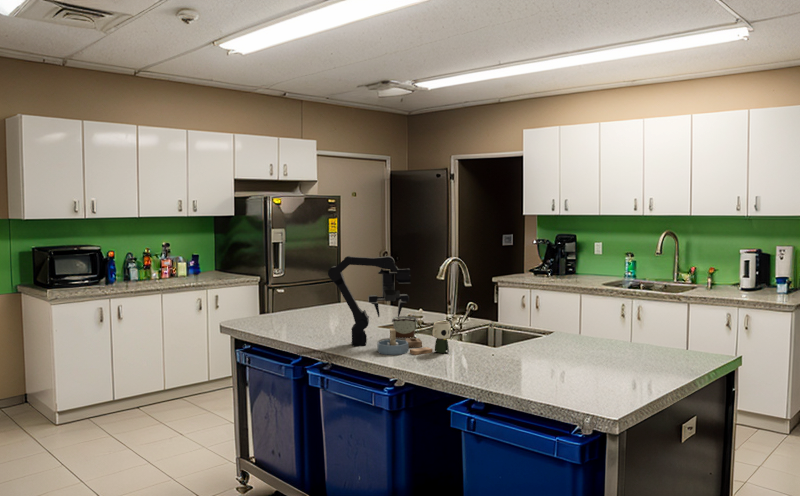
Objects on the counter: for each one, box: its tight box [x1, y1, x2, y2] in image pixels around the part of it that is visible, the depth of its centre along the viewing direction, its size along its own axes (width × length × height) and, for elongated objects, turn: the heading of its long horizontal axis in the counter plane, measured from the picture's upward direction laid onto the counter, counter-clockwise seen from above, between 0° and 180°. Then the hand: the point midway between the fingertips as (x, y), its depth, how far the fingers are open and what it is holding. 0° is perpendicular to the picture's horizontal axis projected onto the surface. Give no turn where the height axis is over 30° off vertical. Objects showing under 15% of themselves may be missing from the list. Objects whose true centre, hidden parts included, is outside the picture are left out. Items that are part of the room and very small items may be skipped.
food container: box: [391, 315, 418, 339], centre depth 300 cm, size 12×6×10 cm, turn 84°
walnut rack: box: [404, 337, 423, 349], centre depth 281 cm, size 7×8×2 cm
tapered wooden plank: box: [409, 346, 434, 356], centre depth 266 cm, size 9×4×2 cm, turn 121°
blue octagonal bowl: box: [376, 338, 410, 356], centre depth 269 cm, size 13×13×4 cm
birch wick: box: [389, 328, 397, 346], centre depth 268 cm, size 2×4×9 cm, turn 8°
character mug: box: [432, 321, 452, 354], centre depth 266 cm, size 11×7×13 cm, turn 132°
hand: (388, 316), depth 283 cm, fingers open, 9 cm apart
